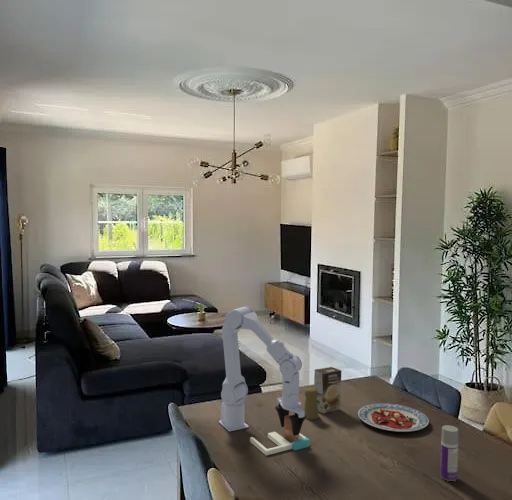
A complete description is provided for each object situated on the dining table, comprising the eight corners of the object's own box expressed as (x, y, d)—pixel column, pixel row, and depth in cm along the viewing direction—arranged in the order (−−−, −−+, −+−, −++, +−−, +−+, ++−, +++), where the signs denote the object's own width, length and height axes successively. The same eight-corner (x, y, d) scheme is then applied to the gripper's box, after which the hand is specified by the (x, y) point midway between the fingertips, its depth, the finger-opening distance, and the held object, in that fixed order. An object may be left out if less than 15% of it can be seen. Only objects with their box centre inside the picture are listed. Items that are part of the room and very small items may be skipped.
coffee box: (323, 414, 190) (323, 373, 189) (313, 408, 196) (313, 369, 195) (341, 409, 195) (341, 370, 194) (330, 404, 200) (331, 366, 199)
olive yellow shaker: (318, 420, 184) (318, 391, 184) (302, 418, 185) (302, 390, 185) (319, 414, 190) (319, 386, 189) (303, 412, 191) (304, 385, 191)
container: (437, 473, 146) (438, 425, 145) (452, 473, 146) (453, 424, 145) (444, 482, 141) (446, 432, 140) (460, 481, 141) (461, 431, 141)
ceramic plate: (352, 429, 177) (352, 421, 177) (364, 404, 201) (364, 397, 201) (426, 442, 167) (427, 433, 167) (430, 414, 191) (430, 407, 191)
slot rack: (249, 441, 166) (250, 434, 166) (291, 431, 174) (291, 424, 174) (268, 457, 155) (268, 449, 155) (311, 445, 163) (312, 438, 163)
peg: (281, 438, 169) (282, 416, 168) (291, 436, 170) (291, 414, 170) (288, 443, 165) (288, 420, 165) (297, 440, 167) (298, 418, 166)
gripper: (312, 396, 162) (311, 436, 163) (288, 383, 175) (288, 420, 176) (294, 400, 159) (294, 440, 160) (272, 386, 172) (271, 424, 172)
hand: (290, 430), depth 168 cm, fingers open, 7 cm apart
